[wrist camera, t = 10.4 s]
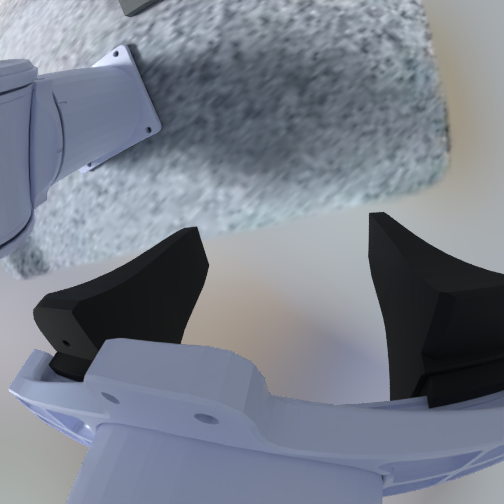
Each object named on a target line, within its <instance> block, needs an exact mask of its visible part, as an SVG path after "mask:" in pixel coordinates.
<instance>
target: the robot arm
mask: <svg viewBox="0 0 504 504" xmlns="http://www.w3.org/2000/svg"><path fill="white" fill-rule="evenodd" d="M117 52H119V55H118V56H116V53H117ZM37 74H38V68H37V67H36V66H33V64H32V63H31V62H30V61H29V60H28V59H10V60H1V61H0V259H2V258H4V257H6V256H7V255H9V254H10V253H12V252H13V251H15V250H16V249H17V248H18V247H19V246H21V245H22V244H23V243H24V241H25V240H26V239H27V238H28V237H29V235H30V233H31V232H32V229H33V227H34V222H35V214H34V209H35V208H36V207H38V206H39V205H41V204H42V203H43V202H45V201H46V200H47V192H48V189H49V187H50V186H52V185H53V184H55V183H56V182H58V181H59V180H61V179H63V178H64V177H66V176H68V175H69V174H71V173H73V172H74V171H76V170H78V169H79V170H80V172H81V173H86V172H88V171H89V170H91V169H93V168H94V167H96V166H98V165H99V164H101V163H103V162H104V161H106V160H108V159H109V158H111V157H113V156H115V155H116V154H118V153H120V152H122V151H123V150H125V149H127V148H129V147H131V146H133V145H135V144H136V143H138V142H140V141H142V140H144V139H146V138H148V137H150V136H152V135H154V134H156V133H158V132H159V131H160V130H161V127H162V126H161V123H160V120H159V118H158V116H157V114H156V111H155V109H154V107H153V104H152V102H151V100H150V97H149V95H148V93H147V90H146V88H145V86H144V83H143V81H142V79H141V76H140V74H139V72H138V69H137V67H136V64H135V62H134V60H133V57H132V55H131V52H130V50H129V48H128V46H127V45H120V46H118V47H117V48H115V49H114V50H112V51H111V52H110V53H108V54H107V55H106V56H104V57H103V58H102V59H100V60H99V61H98V62H96V63H95V64H94V65H92V66H91V67H90V68H81V69H73V70H66V71H60V72H54V73H48V74H43V75H38V76H37ZM148 127H150V128H151V130H152V131H151V132H149V131H148ZM90 162H91V164H90ZM368 258H369V264H370V269H371V276H372V279H373V283H374V286H375V290H376V293H377V297H378V300H379V304H380V308H381V311H382V315H383V319H384V324H385V330H386V339H387V347H388V359H389V373H390V374H389V375H390V401H384V402H374V403H362V404H346V405H333V404H324V403H317V402H311V401H305V400H299V399H292V398H287V397H281V396H276V395H271V394H270V392H269V391H268V387H267V384H266V381H265V378H264V376H263V375H262V374H261V372H260V371H259V370H258V369H257V367H256V366H255V365H254V364H253V363H252V362H251V361H249V360H248V359H246V358H244V357H242V356H240V355H238V354H236V353H234V352H232V351H229V350H224V349H220V348H215V347H210V346H199V345H185V344H181V340H182V337H183V334H184V330H185V328H186V325H187V322H188V320H189V318H190V315H191V313H192V311H193V309H194V306H195V304H196V302H197V300H198V297H199V295H200V293H201V290H202V288H203V286H204V283H205V280H206V276H207V272H208V268H209V263H208V260H207V257H206V254H205V251H204V247H203V244H202V241H201V238H200V235H199V231H198V228H197V227H189V228H183V229H181V230H179V231H177V232H176V233H174V234H172V235H171V236H169V237H167V238H166V239H164V240H163V241H161V242H160V243H158V244H157V245H155V246H154V247H152V248H151V249H149V250H147V251H146V252H144V253H143V254H141V255H140V256H138V257H137V258H135V259H133V260H132V261H130V262H128V263H126V264H125V265H123V266H121V267H119V268H117V269H115V270H113V271H111V272H109V273H107V274H105V275H102V276H100V277H98V278H96V279H94V280H91V281H88V282H86V283H83V284H80V285H77V286H74V287H71V288H68V289H64V290H60V291H57V292H53V293H49V294H47V295H46V296H44V298H43V299H42V300H41V301H40V302H39V303H38V305H37V306H36V307H35V308H34V310H33V316H34V320H35V322H36V324H37V326H38V328H39V329H40V331H41V332H42V333H43V334H44V336H45V337H46V339H47V340H48V341H49V343H50V344H51V345H52V346H53V348H54V349H55V350H56V351H57V353H56V354H55V356H54V357H53V356H52V355H50V354H49V353H46V352H43V351H40V350H37V349H34V351H33V352H32V353H31V355H30V356H29V358H28V359H27V361H26V362H25V364H24V365H23V367H22V368H21V370H20V371H19V373H18V374H17V376H16V377H15V379H14V380H13V382H12V384H11V385H10V387H9V391H10V392H11V393H12V394H13V395H14V396H15V397H16V398H17V399H18V400H19V401H20V402H21V403H22V404H23V405H24V406H26V407H27V408H28V409H29V410H30V411H31V412H32V413H34V414H35V415H36V416H37V417H38V418H40V419H41V420H42V421H43V422H45V423H46V424H48V425H50V426H51V427H53V428H55V429H56V430H58V431H60V432H62V433H64V434H66V435H67V436H69V437H71V438H72V439H74V440H76V441H78V442H80V443H82V444H83V445H85V446H87V447H89V450H88V452H87V454H86V456H85V459H84V461H83V463H82V466H81V468H80V470H79V472H78V475H77V477H76V479H75V482H74V484H73V487H72V489H71V492H70V494H69V496H68V499H67V502H66V504H382V497H386V496H392V495H397V494H402V493H407V492H411V491H416V490H420V489H423V488H428V487H431V486H435V485H438V484H442V483H445V482H448V481H451V480H455V479H457V478H461V477H463V476H466V475H469V474H472V473H475V472H477V471H480V470H482V469H485V468H487V467H490V466H492V465H495V464H497V463H500V462H502V461H504V274H501V273H497V272H493V271H489V270H486V269H483V268H480V267H477V266H474V265H472V264H469V263H466V262H464V261H462V260H459V259H457V258H455V257H453V256H451V255H448V254H446V253H444V252H443V251H441V250H439V249H437V248H435V247H433V246H432V245H430V244H428V243H427V242H425V241H424V240H422V239H421V238H419V237H418V236H416V235H414V234H413V233H412V232H411V231H409V230H408V229H406V228H405V227H404V226H402V225H401V224H400V223H398V222H397V221H396V220H394V219H393V218H391V217H390V216H389V215H387V214H386V213H384V212H378V213H377V212H376V213H369V252H368Z"/></svg>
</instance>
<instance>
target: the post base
mask: <svg viewBox="0 0 504 504" xmlns="http://www.w3.org/2000/svg"><path fill="white" fill-rule="evenodd" d="M156 1H158V0H119V2H120V5H121V7H122V10H123V12H124V15H125V16H128V17H132V16H133V15H135V14H136V13H138V12H139V11H141V10H143V9H144V8H146V7H147V6H149V5H151V4H153V3H154V2H156Z"/></svg>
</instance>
